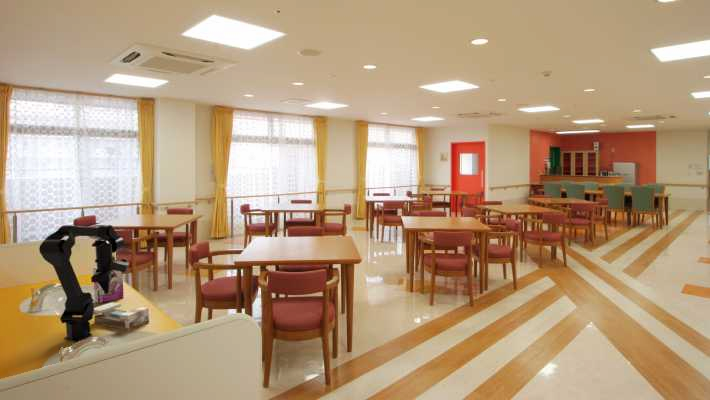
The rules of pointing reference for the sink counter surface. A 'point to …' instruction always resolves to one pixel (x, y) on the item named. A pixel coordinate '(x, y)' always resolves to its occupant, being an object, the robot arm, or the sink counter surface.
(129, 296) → the sink counter surface
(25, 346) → the sink counter surface
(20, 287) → the sink counter surface
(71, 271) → the robot arm
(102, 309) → the sliding cap
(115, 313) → the teal rectangular block
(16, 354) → the sink counter surface
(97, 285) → the candy bar box
